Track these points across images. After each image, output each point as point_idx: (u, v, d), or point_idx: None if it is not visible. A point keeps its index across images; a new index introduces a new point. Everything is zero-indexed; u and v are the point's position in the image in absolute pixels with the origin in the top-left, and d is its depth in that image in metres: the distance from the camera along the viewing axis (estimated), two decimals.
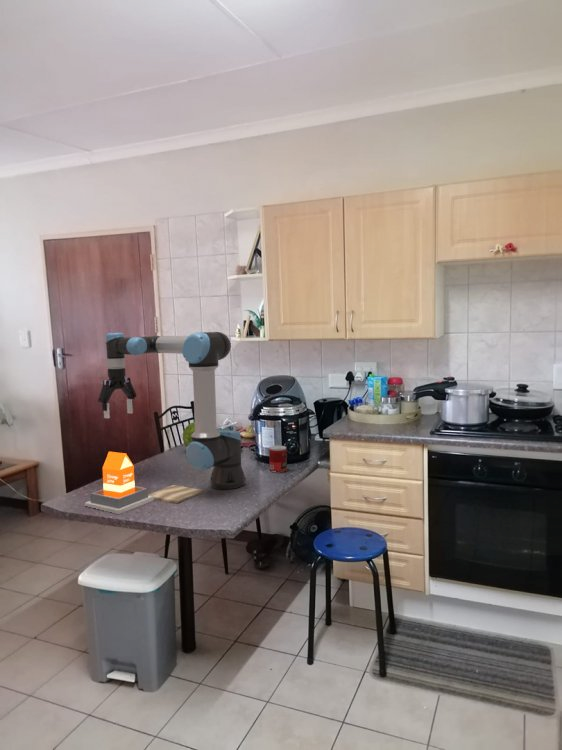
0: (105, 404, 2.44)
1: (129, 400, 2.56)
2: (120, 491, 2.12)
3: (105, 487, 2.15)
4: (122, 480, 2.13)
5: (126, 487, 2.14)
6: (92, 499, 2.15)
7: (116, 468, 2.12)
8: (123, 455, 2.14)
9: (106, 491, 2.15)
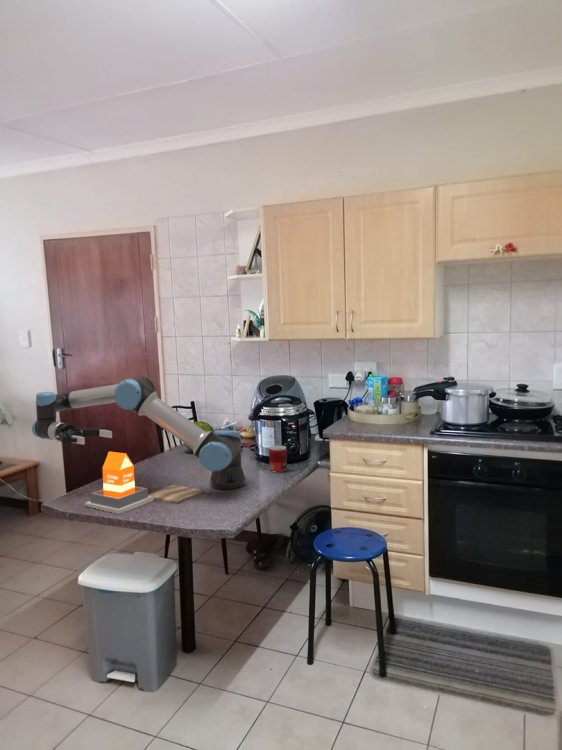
0: (70, 437, 2.18)
1: (100, 432, 2.30)
2: (120, 491, 2.12)
3: (105, 487, 2.15)
4: (122, 480, 2.13)
5: (125, 487, 2.14)
6: (92, 499, 2.15)
7: (116, 468, 2.12)
8: (123, 455, 2.14)
9: (106, 491, 2.15)
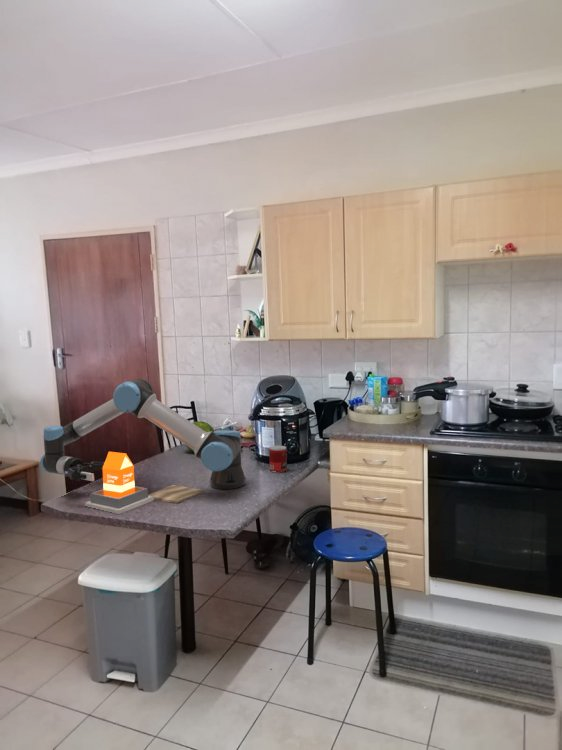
0: (80, 474, 2.16)
1: None
2: (120, 491, 2.12)
3: (105, 487, 2.15)
4: (122, 480, 2.13)
5: (125, 487, 2.14)
6: (92, 499, 2.15)
7: (116, 468, 2.12)
8: (123, 455, 2.14)
9: (106, 491, 2.15)
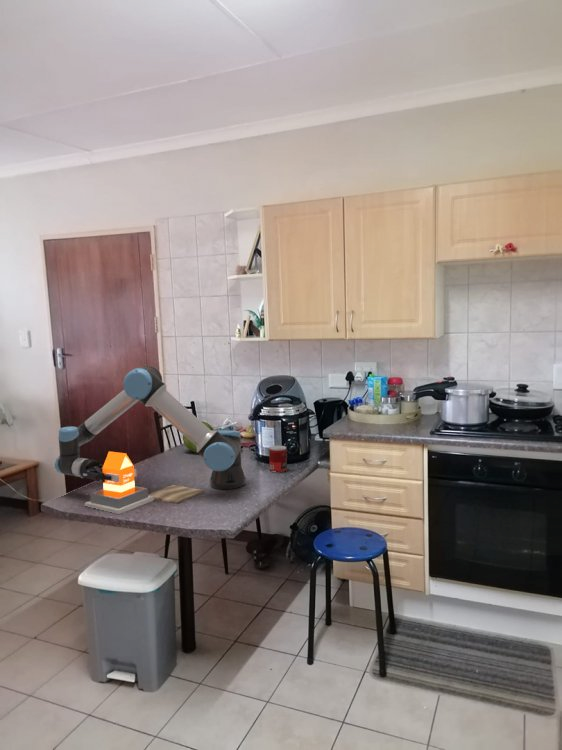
0: (104, 475, 2.13)
1: None
2: (120, 491, 2.12)
3: (105, 487, 2.15)
4: (122, 480, 2.13)
5: (125, 487, 2.14)
6: (92, 499, 2.15)
7: (116, 468, 2.12)
8: (123, 455, 2.14)
9: (106, 491, 2.15)
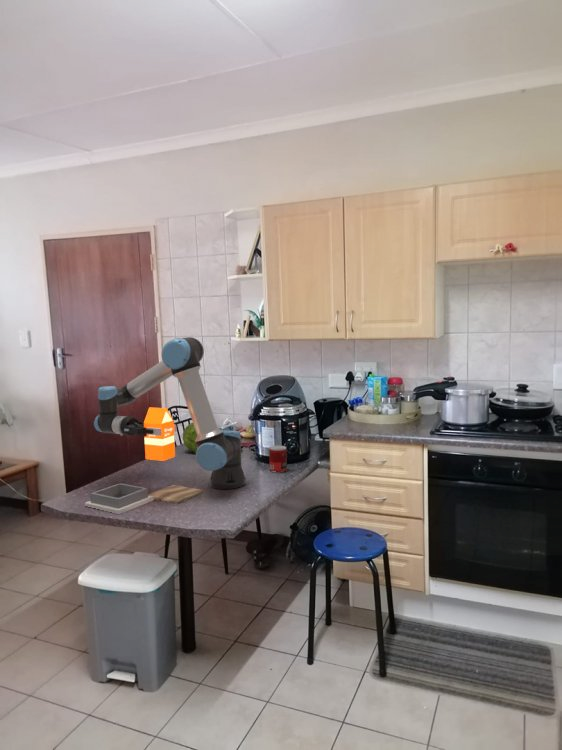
0: (146, 429, 2.19)
1: None
2: (162, 444, 2.19)
3: (147, 442, 2.22)
4: (163, 433, 2.19)
5: (166, 441, 2.21)
6: (92, 499, 2.15)
7: (157, 422, 2.19)
8: (164, 410, 2.21)
9: (147, 445, 2.22)
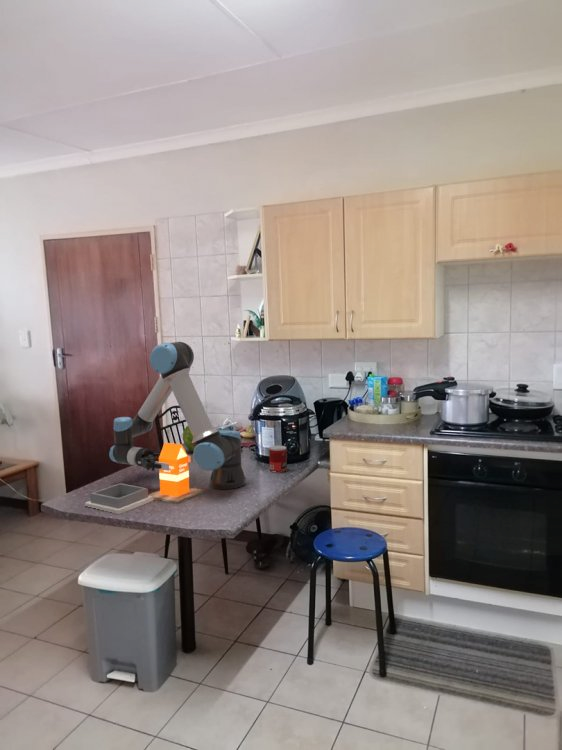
0: (154, 464, 2.21)
1: None
2: (176, 480, 2.21)
3: (162, 477, 2.25)
4: (178, 469, 2.22)
5: (181, 477, 2.24)
6: (92, 499, 2.15)
7: (172, 458, 2.22)
8: (179, 446, 2.23)
9: (162, 480, 2.25)
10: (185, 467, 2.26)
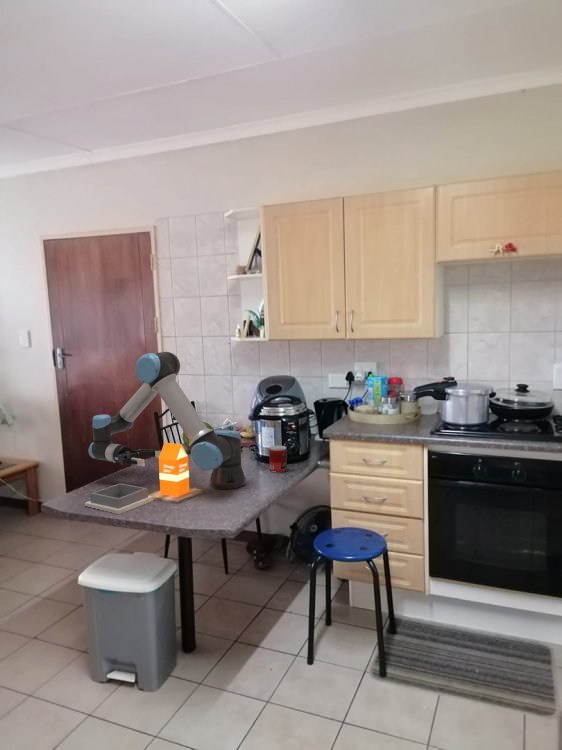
0: (130, 460, 2.27)
1: (156, 453, 2.39)
2: (176, 480, 2.21)
3: (162, 477, 2.25)
4: (178, 469, 2.22)
5: (181, 477, 2.24)
6: (92, 499, 2.15)
7: (172, 458, 2.22)
8: (179, 446, 2.23)
9: (162, 480, 2.25)
10: (185, 467, 2.26)
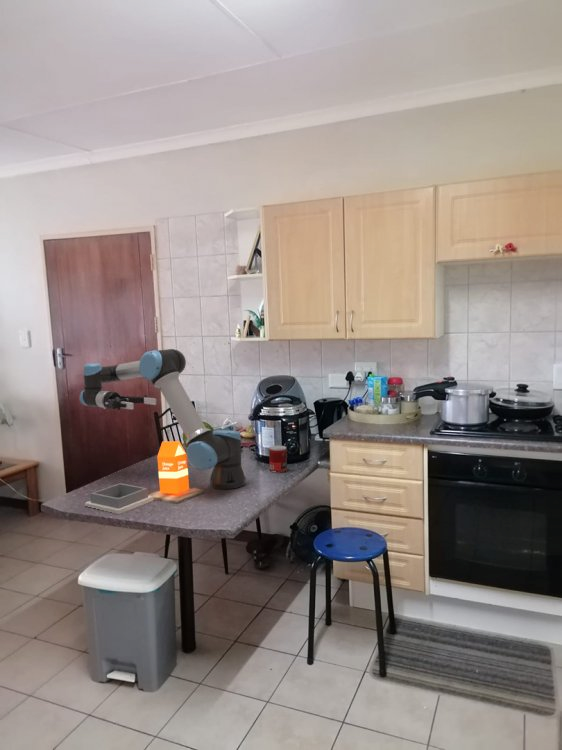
0: (120, 403, 2.36)
1: (144, 399, 2.49)
2: (175, 477, 2.22)
3: (161, 475, 2.25)
4: (177, 466, 2.23)
5: (180, 474, 2.24)
6: (92, 499, 2.15)
7: (171, 455, 2.23)
8: (176, 443, 2.25)
9: (161, 479, 2.25)
10: (184, 464, 2.27)
